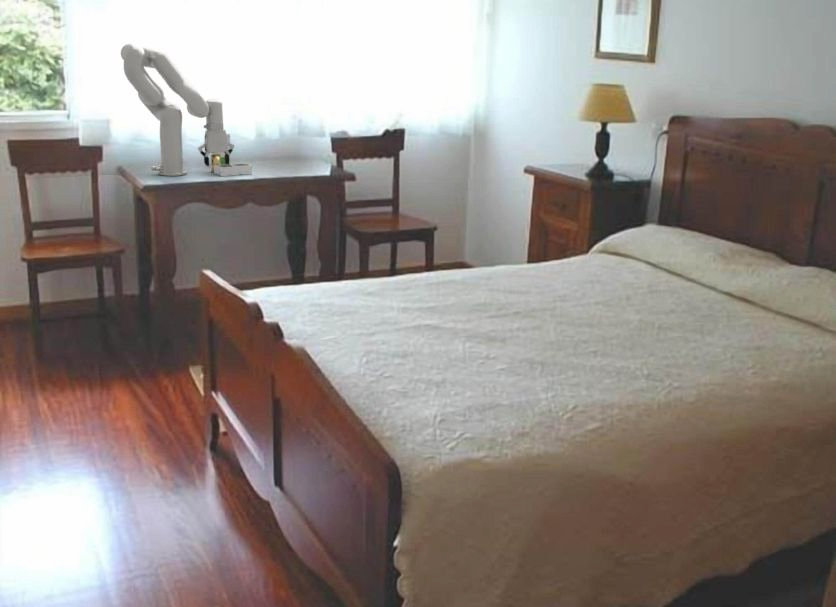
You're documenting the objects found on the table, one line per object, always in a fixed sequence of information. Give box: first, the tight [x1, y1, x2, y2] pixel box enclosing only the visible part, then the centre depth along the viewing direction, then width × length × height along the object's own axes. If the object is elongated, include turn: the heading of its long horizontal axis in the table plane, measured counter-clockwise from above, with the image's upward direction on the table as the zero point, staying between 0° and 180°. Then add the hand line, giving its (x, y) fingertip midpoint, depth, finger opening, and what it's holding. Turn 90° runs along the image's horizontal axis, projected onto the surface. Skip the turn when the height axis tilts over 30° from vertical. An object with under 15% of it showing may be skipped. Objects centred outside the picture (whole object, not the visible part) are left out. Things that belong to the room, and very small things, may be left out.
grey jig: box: [213, 162, 253, 177], centre depth 426 cm, size 15×8×4 cm, turn 124°
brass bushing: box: [210, 153, 221, 173], centre depth 430 cm, size 4×4×8 cm
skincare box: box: [210, 132, 231, 165], centre depth 449 cm, size 8×7×16 cm
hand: (217, 164), depth 431 cm, fingers open, 9 cm apart
